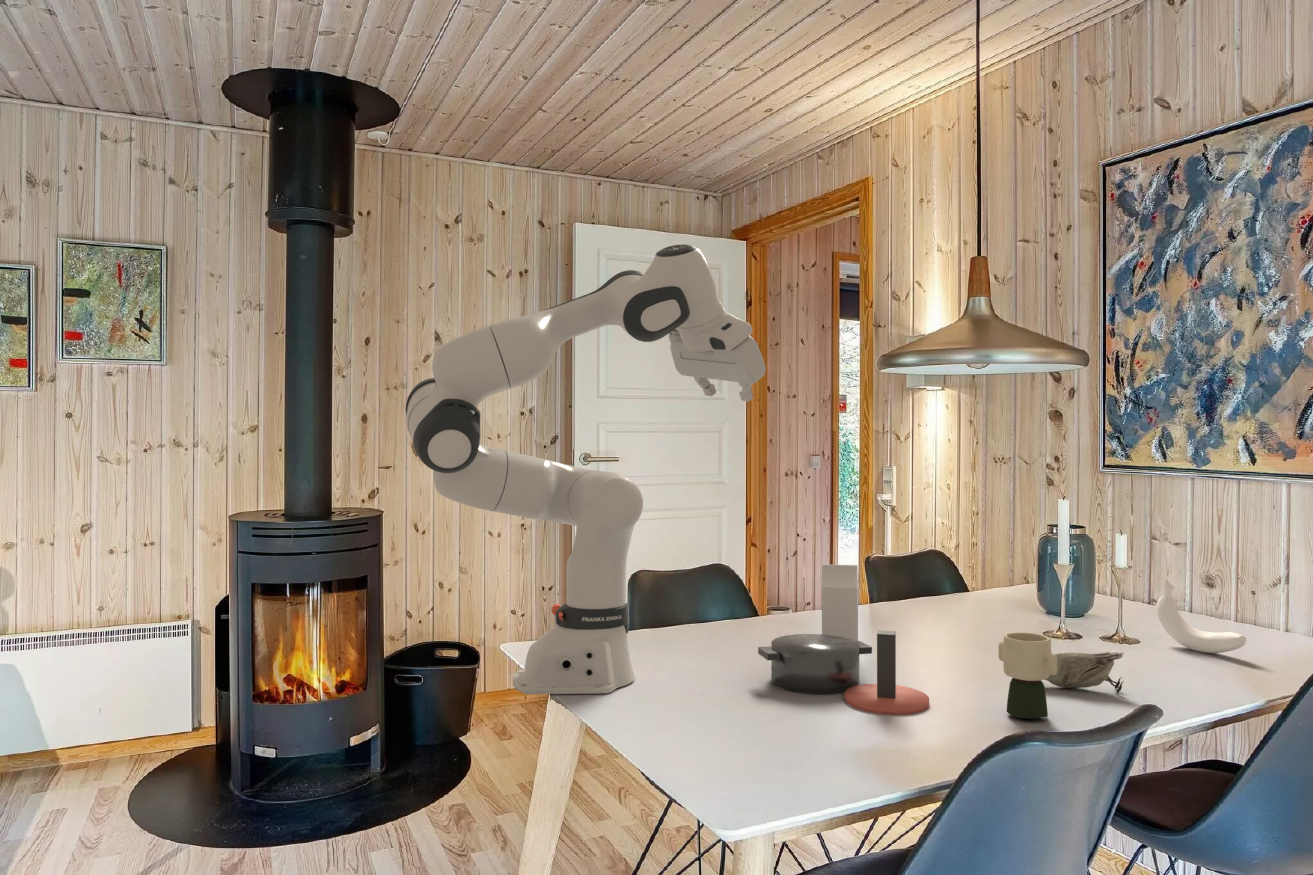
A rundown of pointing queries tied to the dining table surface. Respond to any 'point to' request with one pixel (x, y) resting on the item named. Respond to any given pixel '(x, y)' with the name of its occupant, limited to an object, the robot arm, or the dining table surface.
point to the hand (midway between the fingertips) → (729, 397)
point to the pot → (814, 663)
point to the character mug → (1027, 672)
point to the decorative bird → (1084, 670)
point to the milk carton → (840, 601)
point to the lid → (886, 685)
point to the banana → (1189, 634)
